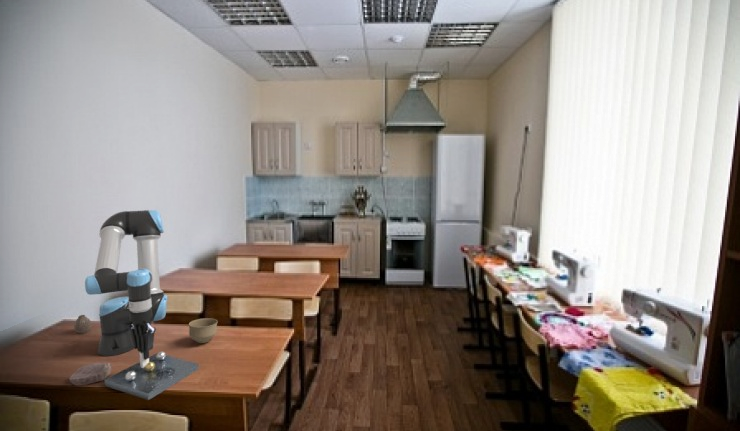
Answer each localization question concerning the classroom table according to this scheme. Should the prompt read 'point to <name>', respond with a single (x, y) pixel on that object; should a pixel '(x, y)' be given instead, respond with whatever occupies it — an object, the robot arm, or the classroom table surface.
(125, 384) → the plate
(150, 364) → the brass ball
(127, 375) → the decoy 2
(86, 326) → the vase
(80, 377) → the stone
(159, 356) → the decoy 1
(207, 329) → the bowl
